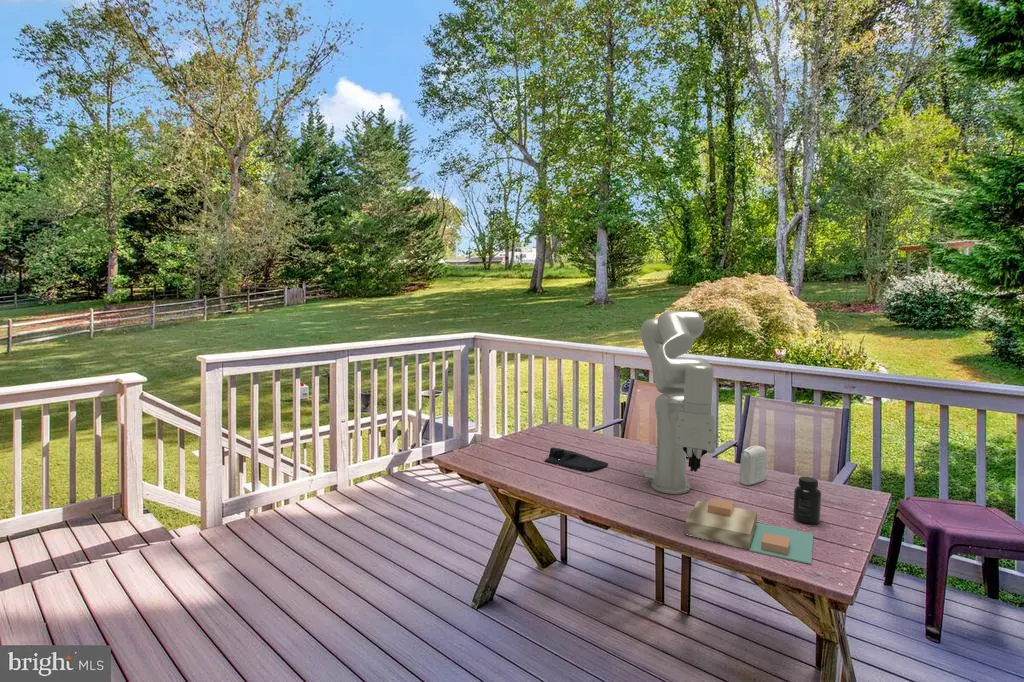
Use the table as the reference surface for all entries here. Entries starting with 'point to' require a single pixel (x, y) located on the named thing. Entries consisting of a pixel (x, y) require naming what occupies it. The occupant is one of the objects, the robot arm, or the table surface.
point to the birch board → (722, 525)
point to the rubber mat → (798, 543)
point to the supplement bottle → (807, 501)
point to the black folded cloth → (574, 460)
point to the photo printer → (753, 465)
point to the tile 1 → (720, 507)
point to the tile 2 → (775, 543)
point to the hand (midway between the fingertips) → (694, 469)
